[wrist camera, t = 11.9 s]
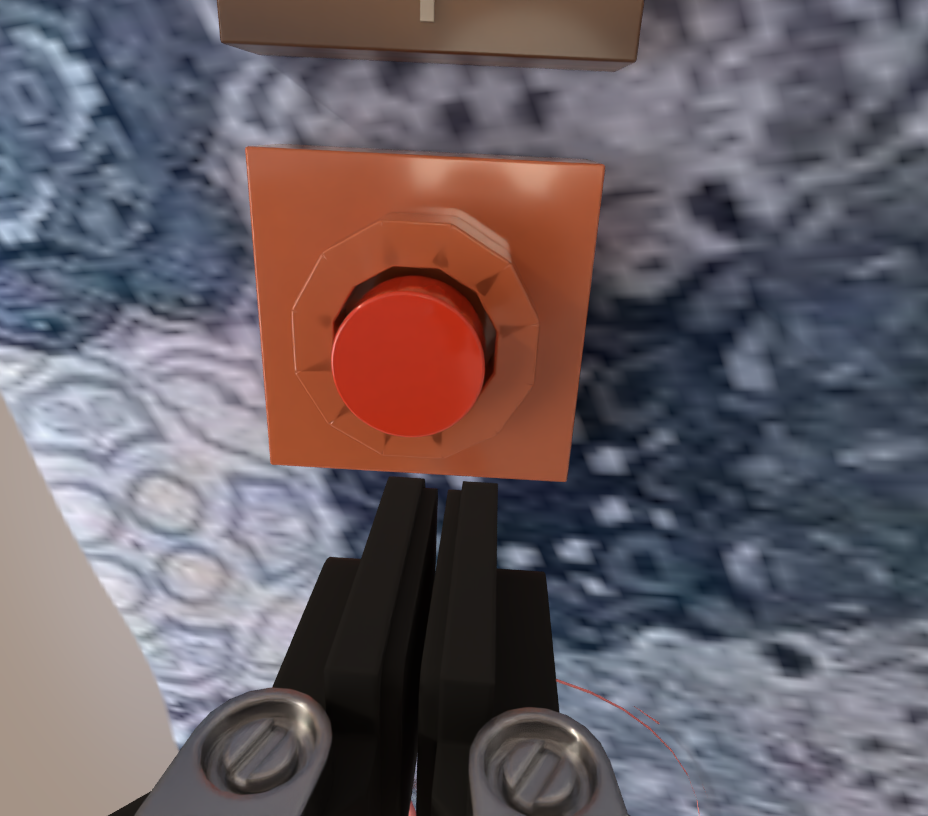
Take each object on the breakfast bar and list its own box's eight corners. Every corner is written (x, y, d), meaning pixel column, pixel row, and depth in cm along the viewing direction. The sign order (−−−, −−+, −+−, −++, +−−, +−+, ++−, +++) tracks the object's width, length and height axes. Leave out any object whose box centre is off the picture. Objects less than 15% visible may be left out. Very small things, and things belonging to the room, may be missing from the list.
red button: (481, 412, 19) (480, 443, 18) (347, 404, 19) (332, 434, 18) (490, 278, 18) (489, 296, 16) (344, 270, 18) (326, 287, 16)
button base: (558, 440, 25) (573, 512, 20) (295, 425, 25) (251, 493, 20) (590, 159, 21) (618, 167, 16) (278, 143, 21) (218, 147, 16)
